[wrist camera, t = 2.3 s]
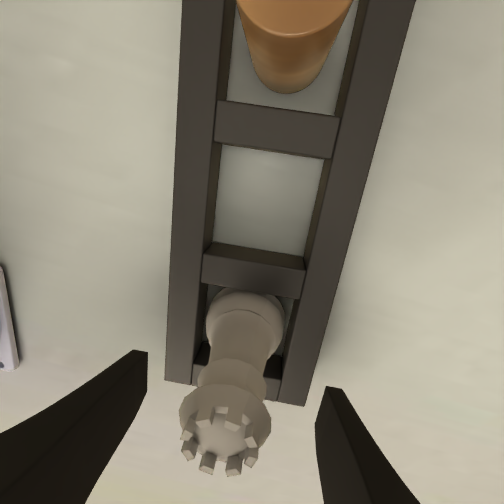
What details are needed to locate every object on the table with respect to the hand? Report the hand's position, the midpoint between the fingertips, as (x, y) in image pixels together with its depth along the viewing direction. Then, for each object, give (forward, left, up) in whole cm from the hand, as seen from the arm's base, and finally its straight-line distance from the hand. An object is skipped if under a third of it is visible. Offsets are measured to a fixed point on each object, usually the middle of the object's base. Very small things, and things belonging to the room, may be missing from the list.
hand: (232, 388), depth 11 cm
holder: (0, +7, -6) cm, 9 cm away
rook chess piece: (0, 0, -6) cm, 6 cm away
